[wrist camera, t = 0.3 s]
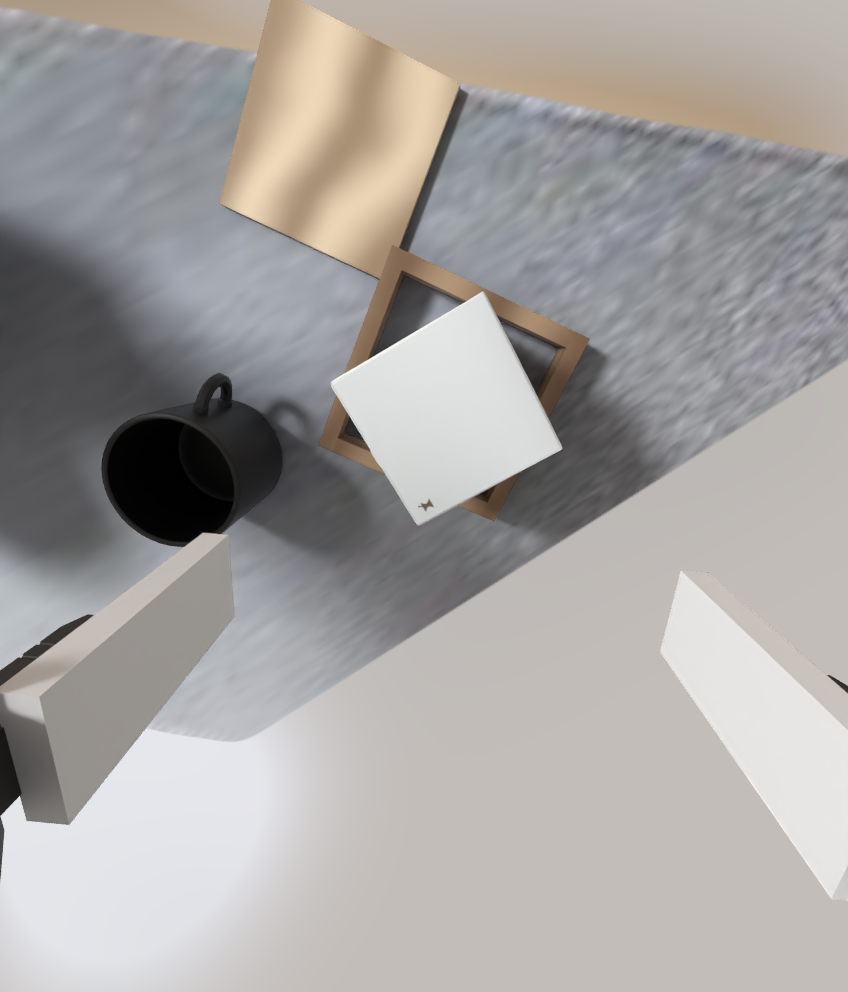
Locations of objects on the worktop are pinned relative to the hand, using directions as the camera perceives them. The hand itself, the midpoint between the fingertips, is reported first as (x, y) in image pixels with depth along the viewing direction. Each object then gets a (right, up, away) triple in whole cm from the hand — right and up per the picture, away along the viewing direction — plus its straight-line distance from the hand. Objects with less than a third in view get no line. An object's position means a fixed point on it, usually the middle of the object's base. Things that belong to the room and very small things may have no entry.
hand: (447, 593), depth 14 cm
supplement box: (+1, +11, +24) cm, 27 cm away
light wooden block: (-7, +27, +19) cm, 34 cm away
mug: (-17, +8, +26) cm, 32 cm away
